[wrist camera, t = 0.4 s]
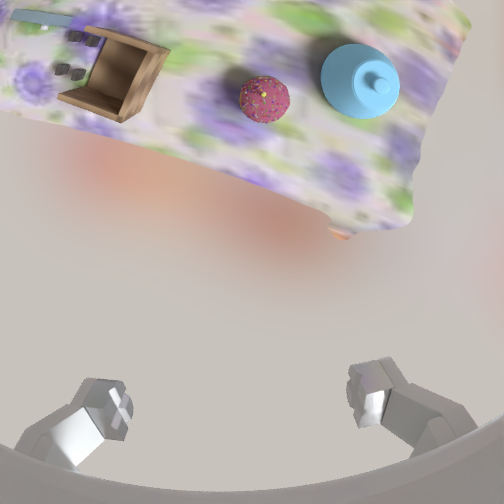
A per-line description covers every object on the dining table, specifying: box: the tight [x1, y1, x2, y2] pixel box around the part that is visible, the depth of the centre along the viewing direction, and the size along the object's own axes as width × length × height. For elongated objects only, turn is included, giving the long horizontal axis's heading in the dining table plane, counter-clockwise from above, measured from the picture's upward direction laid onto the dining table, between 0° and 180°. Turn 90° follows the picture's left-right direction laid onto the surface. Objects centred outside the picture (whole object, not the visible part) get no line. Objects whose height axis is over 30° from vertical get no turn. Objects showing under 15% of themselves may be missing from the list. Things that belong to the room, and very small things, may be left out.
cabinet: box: [54, 25, 171, 123], centre depth 37 cm, size 13×20×11 cm, turn 60°
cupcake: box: [239, 76, 290, 123], centre depth 44 cm, size 9×8×12 cm
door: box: [10, 9, 73, 31], centre depth 29 cm, size 10×3×9 cm, turn 60°
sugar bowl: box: [321, 44, 400, 119], centre depth 42 cm, size 15×15×12 cm
